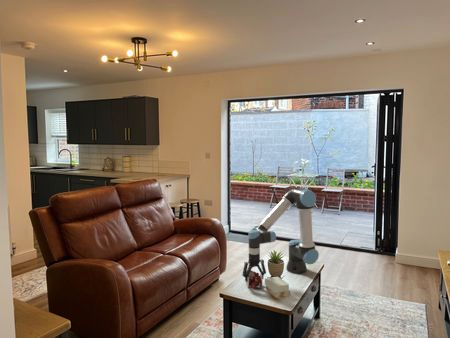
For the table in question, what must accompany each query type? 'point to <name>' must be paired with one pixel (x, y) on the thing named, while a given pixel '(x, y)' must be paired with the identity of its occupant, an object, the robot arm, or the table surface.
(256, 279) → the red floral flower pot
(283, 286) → the cream flat block
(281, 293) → the block
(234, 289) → the table surface
